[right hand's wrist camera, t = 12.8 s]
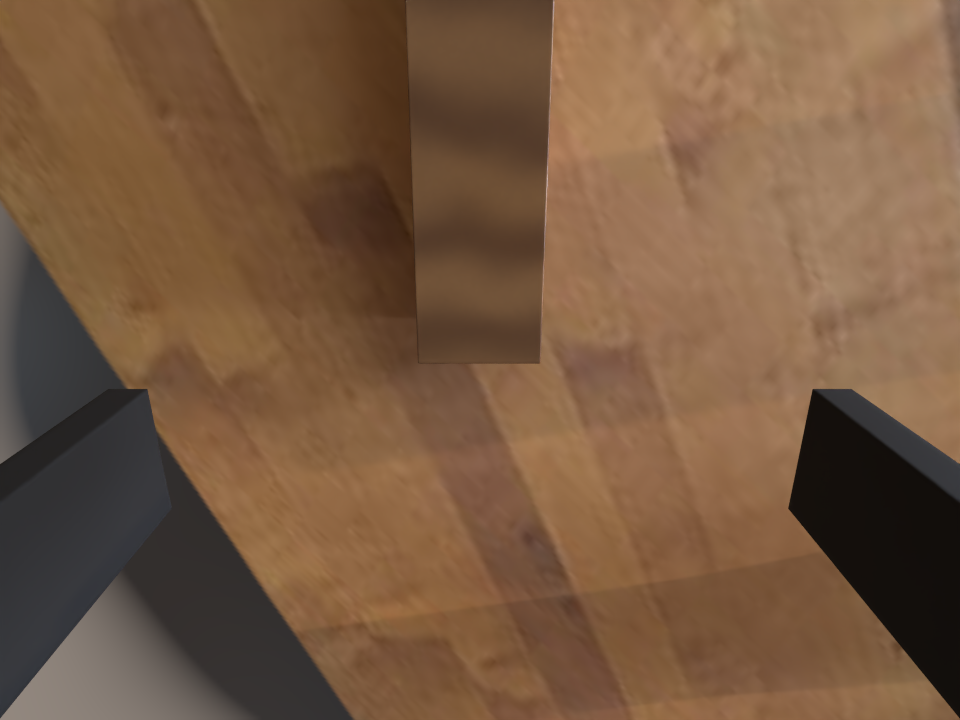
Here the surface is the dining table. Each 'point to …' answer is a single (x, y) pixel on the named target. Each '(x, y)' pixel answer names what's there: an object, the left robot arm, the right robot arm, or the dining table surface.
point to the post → (479, 175)
